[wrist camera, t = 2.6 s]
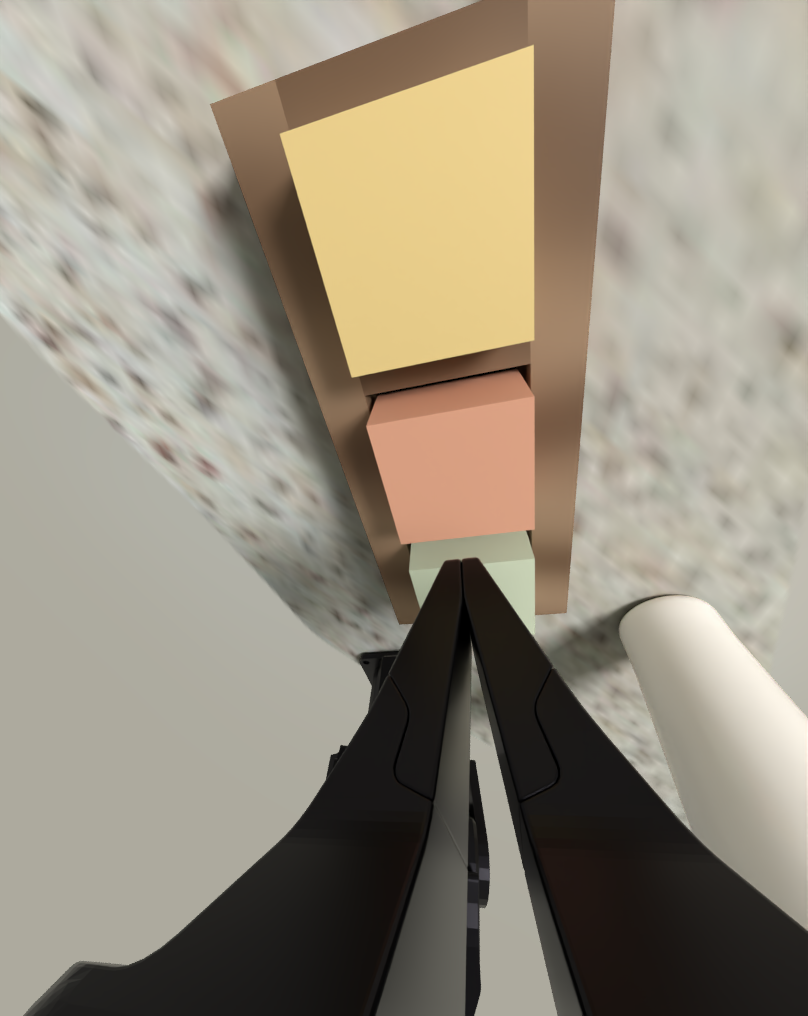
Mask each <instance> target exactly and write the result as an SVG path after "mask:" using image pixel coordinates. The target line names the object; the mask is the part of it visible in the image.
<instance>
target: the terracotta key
mask: <svg viewBox="0 0 808 1016" xmlns="http://www.w3.org/2000/svg"><path fill="white" fill-rule="evenodd" d="M366 427H367V431H368V434H369V438H370V441H371V444H372V448H373V451H374V455H375V458H376V461H377V465H378V468H379V471H380V475H381V478H382V482H383V485H384V488H385V492H386V495H387V498H388V502H389V505H390V509H391V512H392V515H393V519H394V522H395V526H396V529H397V532H398V536H399V539H400V542H401V544H409V543H418V542H427V541H436V540H445V539H454V538H463V537H472V536H481V535H490V534H499V533H508V532H517V531H526V530H535V398H534V395H533V393H532V392H531V390H530V388H529V387H528V385H527V383H526V382H525V380H524V379H523V377H522V375H521V374H520V372H519V371H518V369H513V370H508V371H503V372H498V373H493V374H487V375H482V376H477V377H472V378H467V379H461V380H456V381H451V382H446V383H441V384H435V385H430V386H425V387H420V388H415V389H409V390H404V391H399V392H394V393H389V394H384V395H378V396H377V398H376V401H375V404H374V406H373V409H372V412H371V414H370V417H369V420H368V422H367V425H366Z"/></svg>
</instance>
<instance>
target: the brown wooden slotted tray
mask: <svg viewBox="0 0 808 1016" xmlns="http://www.w3.org/2000/svg"><path fill="white" fill-rule="evenodd" d="M614 7H615V0H482V1H479V2H477V3H474V4H471V5H469V6H466V7H464V8H461V9H458V10H456V11H453V12H450V13H448V14H445V15H443V16H440V17H437V18H435V19H432V20H430V21H427V22H424V23H422V24H419V25H416V26H414V27H411V28H409V29H406V30H403V31H401V32H398V33H395V34H393V35H390V36H388V37H385V38H382V39H380V40H377V41H375V42H372V43H369V44H367V45H364V46H361V47H359V48H356V49H354V50H351V51H348V52H346V53H343V54H341V55H338V56H335V57H333V58H330V59H327V60H325V61H322V62H320V63H317V64H314V65H312V66H309V67H307V68H304V69H301V70H299V71H296V72H293V73H291V74H288V75H286V76H283V77H280V78H278V79H275V80H273V81H270V82H267V83H265V84H262V85H259V86H257V87H254V88H252V89H249V90H246V91H244V92H241V93H239V94H236V95H233V96H231V97H228V98H225V99H223V100H220V101H218V102H215V103H212V104H210V105H211V108H212V111H213V114H214V116H215V119H216V122H217V125H218V127H219V130H220V133H221V136H222V138H223V141H224V144H225V147H226V149H227V152H228V155H229V158H230V160H231V163H232V166H233V169H234V171H235V174H236V177H237V180H238V182H239V185H240V188H241V191H242V193H243V196H244V199H245V202H246V204H247V207H248V210H249V213H250V215H251V218H252V221H253V224H254V226H255V229H256V232H257V235H258V237H259V240H260V243H261V246H262V248H263V251H264V254H265V257H266V259H267V262H268V265H269V268H270V270H271V273H272V276H273V279H274V281H275V284H276V287H277V290H278V292H279V295H280V298H281V301H282V303H283V306H284V309H285V312H286V314H287V317H288V320H289V323H290V325H291V328H292V331H293V334H294V336H295V339H296V342H297V345H298V347H299V350H300V353H301V356H302V358H303V361H304V364H305V367H306V369H307V372H308V375H309V378H310V380H311V383H312V386H313V389H314V391H315V394H316V397H317V400H318V402H319V405H320V408H321V411H322V413H323V416H324V419H325V422H326V424H327V427H328V430H329V433H330V435H331V438H332V441H333V444H334V446H335V449H336V452H337V455H338V457H339V460H340V463H341V466H342V468H343V471H344V474H345V477H346V479H347V482H348V485H349V488H350V490H351V493H352V496H353V499H354V501H355V504H356V507H357V510H358V512H359V515H360V518H361V521H362V523H363V526H364V529H365V531H366V534H367V537H368V540H369V542H370V545H371V548H372V551H373V553H374V556H375V559H376V562H377V564H378V567H379V570H380V573H381V575H382V578H383V581H384V584H385V586H386V589H387V592H388V595H389V597H390V600H391V603H392V606H393V608H394V611H395V614H396V617H397V619H398V622H399V624H413V623H414V621H415V619H416V617H417V615H418V613H419V611H420V607H419V603H418V600H417V596H416V593H415V590H414V586H413V583H412V580H411V576H410V573H409V564H410V552H411V543H409V544H401V542H400V539H399V536H398V532H397V529H396V526H395V522H394V519H393V515H392V512H391V509H390V505H389V502H388V498H387V495H386V492H385V488H384V485H383V482H382V478H381V475H380V471H379V468H378V465H377V461H376V458H375V455H374V451H373V448H372V444H371V441H370V438H369V434H368V431H367V427H366V425H367V422H368V420H369V417H370V414H371V412H372V409H373V406H374V404H375V401H376V398H377V396H378V395H380V394H379V393H382V392H387V391H392V390H398V389H403V388H408V387H413V386H418V385H423V384H429V383H434V382H439V381H444V380H449V379H454V378H460V377H465V376H470V375H475V374H480V373H485V372H491V371H496V370H501V369H506V368H511V367H516V366H517V369H518V371H519V372H520V374H521V375H522V377H523V379H524V380H525V382H526V383H527V385H528V387H529V388H530V390H531V392H532V393H533V395H534V398H535V530H526V532H527V535H528V538H529V541H530V545H531V548H532V551H533V554H534V558H535V615H543V614H557V613H566V612H567V600H568V587H569V574H570V562H571V549H572V537H573V524H574V511H575V499H576V486H577V474H578V461H579V448H580V436H581V423H582V411H583V398H584V385H585V373H586V360H587V347H588V335H589V322H590V310H591V297H592V284H593V272H594V259H595V247H596V234H597V221H598V209H599V196H600V183H601V171H602V158H603V146H604V133H605V120H606V108H607V95H608V83H609V70H610V57H611V45H612V32H613V20H614ZM532 45H534V340H533V341H529V342H524V343H519V344H514V345H509V346H504V347H499V348H494V349H489V350H485V351H480V352H475V353H470V354H465V355H460V356H455V357H450V358H446V359H441V360H436V361H431V362H426V363H421V364H416V365H411V366H407V367H402V368H397V369H392V370H387V371H382V372H377V373H372V374H367V375H363V376H358V377H353V378H352V377H351V373H350V370H349V367H348V363H347V360H346V356H345V353H344V350H343V346H342V343H341V340H340V336H339V333H338V329H337V326H336V323H335V319H334V316H333V313H332V309H331V306H330V302H329V299H328V296H327V292H326V289H325V286H324V282H323V279H322V275H321V272H320V269H319V265H318V262H317V258H316V255H315V252H314V248H313V245H312V242H311V238H310V235H309V231H308V228H307V225H306V221H305V218H304V215H303V211H302V208H301V204H300V201H299V198H298V194H297V191H296V187H295V184H294V181H293V177H292V174H291V171H290V167H289V164H288V160H287V157H286V154H285V150H284V147H283V144H282V140H281V137H280V134H281V133H283V132H286V131H289V130H292V129H295V128H298V127H301V126H303V125H306V124H309V123H312V122H315V121H318V120H321V119H323V118H326V117H329V116H332V115H335V114H338V113H340V112H343V111H346V110H349V109H352V108H355V107H358V106H360V105H363V104H366V103H369V102H372V101H375V100H378V99H380V98H383V97H386V96H389V95H392V94H395V93H397V92H400V91H403V90H406V89H409V88H412V87H415V86H417V85H420V84H423V83H426V82H429V81H432V80H435V79H437V78H440V77H443V76H446V75H449V74H452V73H455V72H457V71H460V70H463V69H466V68H469V67H472V66H474V65H477V64H480V63H483V62H486V61H489V60H492V59H494V58H497V57H500V56H503V55H506V54H509V53H512V52H514V51H517V50H520V49H523V48H526V47H529V46H532Z"/></svg>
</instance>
